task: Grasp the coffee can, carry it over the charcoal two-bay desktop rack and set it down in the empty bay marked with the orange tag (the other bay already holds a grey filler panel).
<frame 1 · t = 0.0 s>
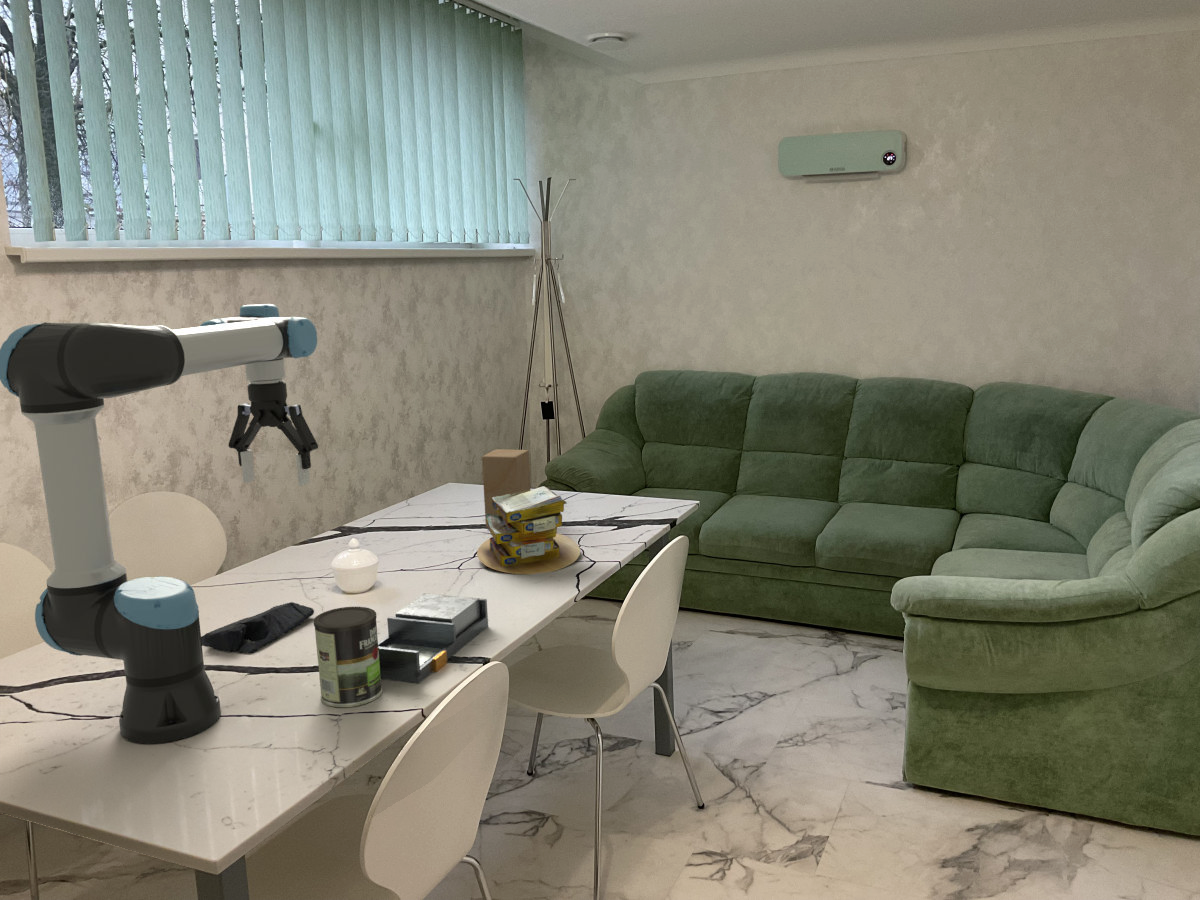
hand: (276, 483, 208), 28 cm above the table, fingers open, 13 cm apart
rack: (422, 649, 190), on the table
wooden block: (509, 524, 276), on the table
stacked yellow boxes: (529, 559, 245), on the table
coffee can: (351, 695, 171), on the table
black pouch: (260, 634, 202), on the table
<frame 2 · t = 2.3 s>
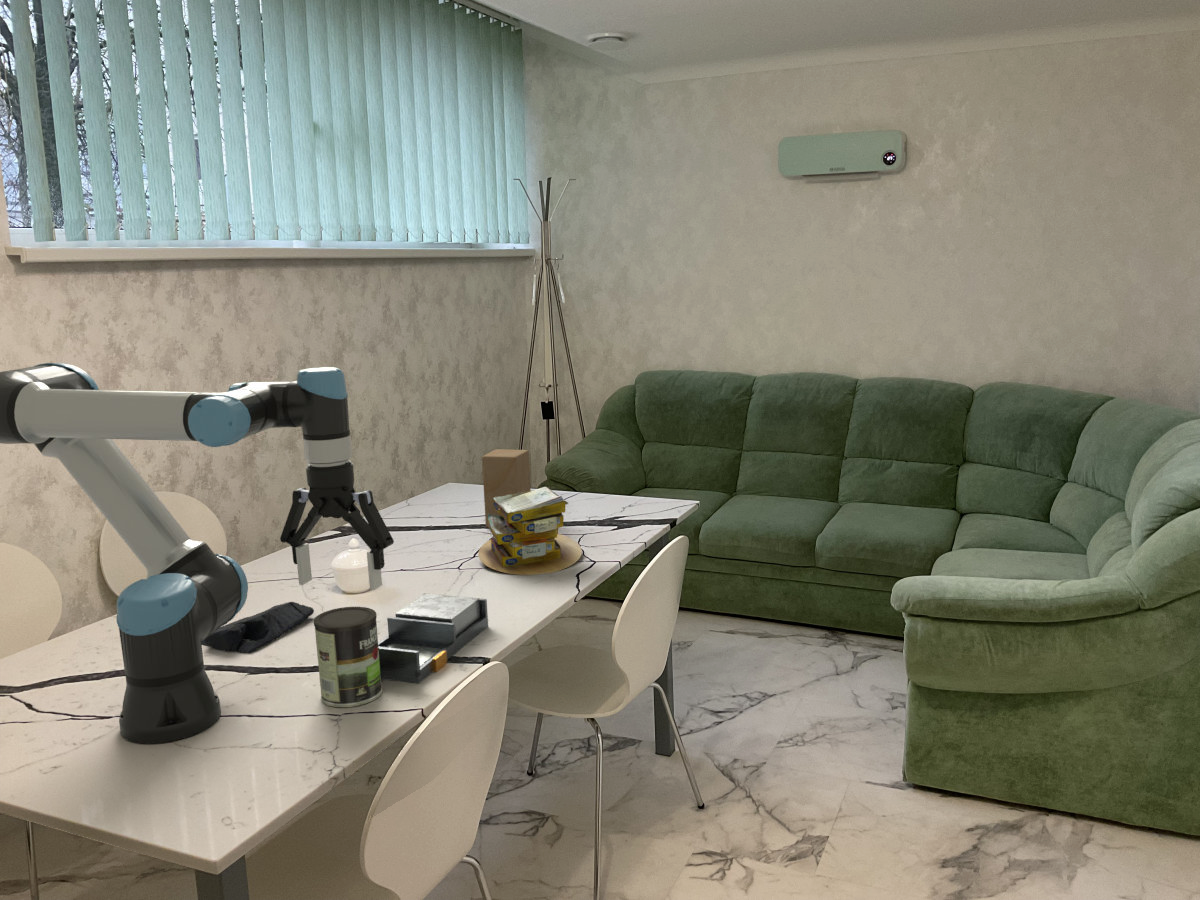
hand: (340, 585, 169), 19 cm above the table, fingers open, 13 cm apart
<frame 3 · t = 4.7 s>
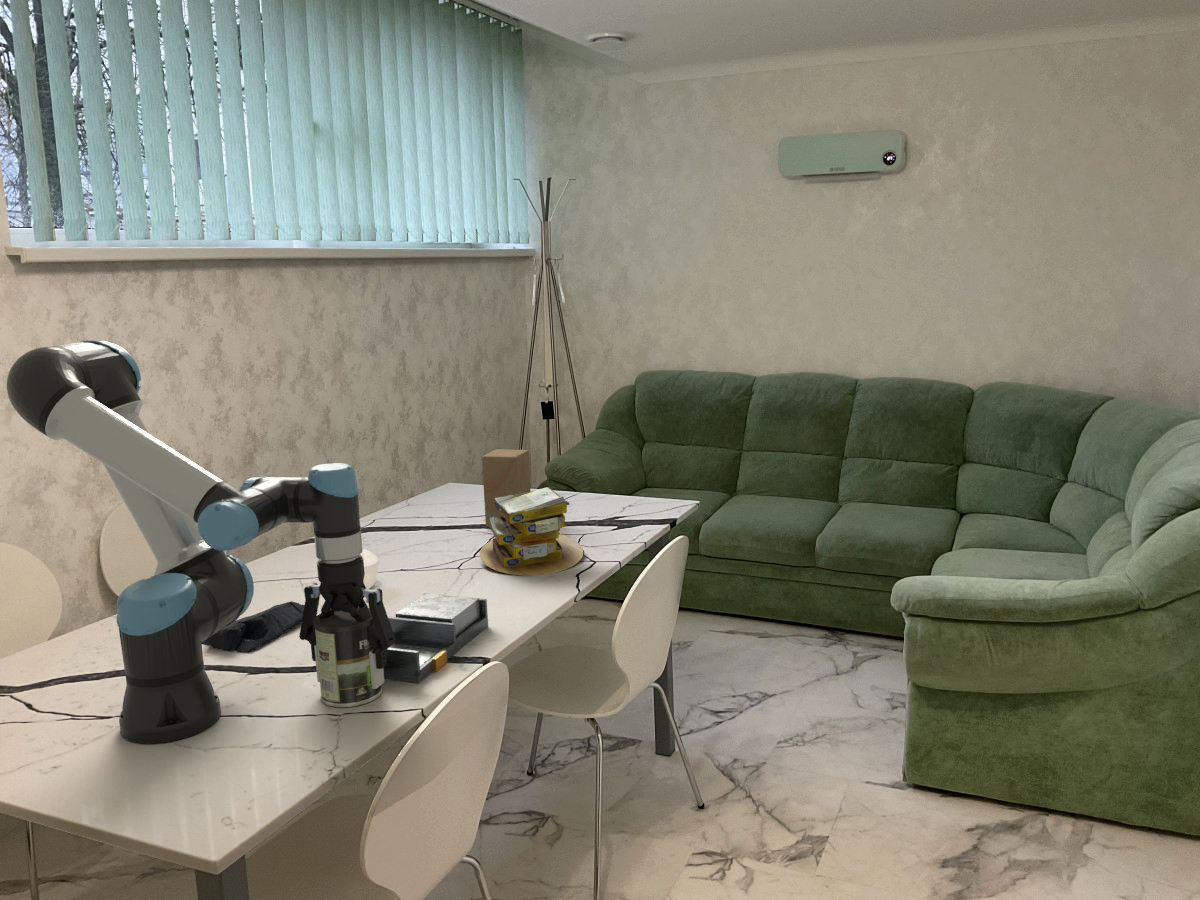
hand: (350, 682, 171), 2 cm above the table, fingers closed on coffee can, 10 cm apart
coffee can: (351, 695, 171), on the table, touching gripper
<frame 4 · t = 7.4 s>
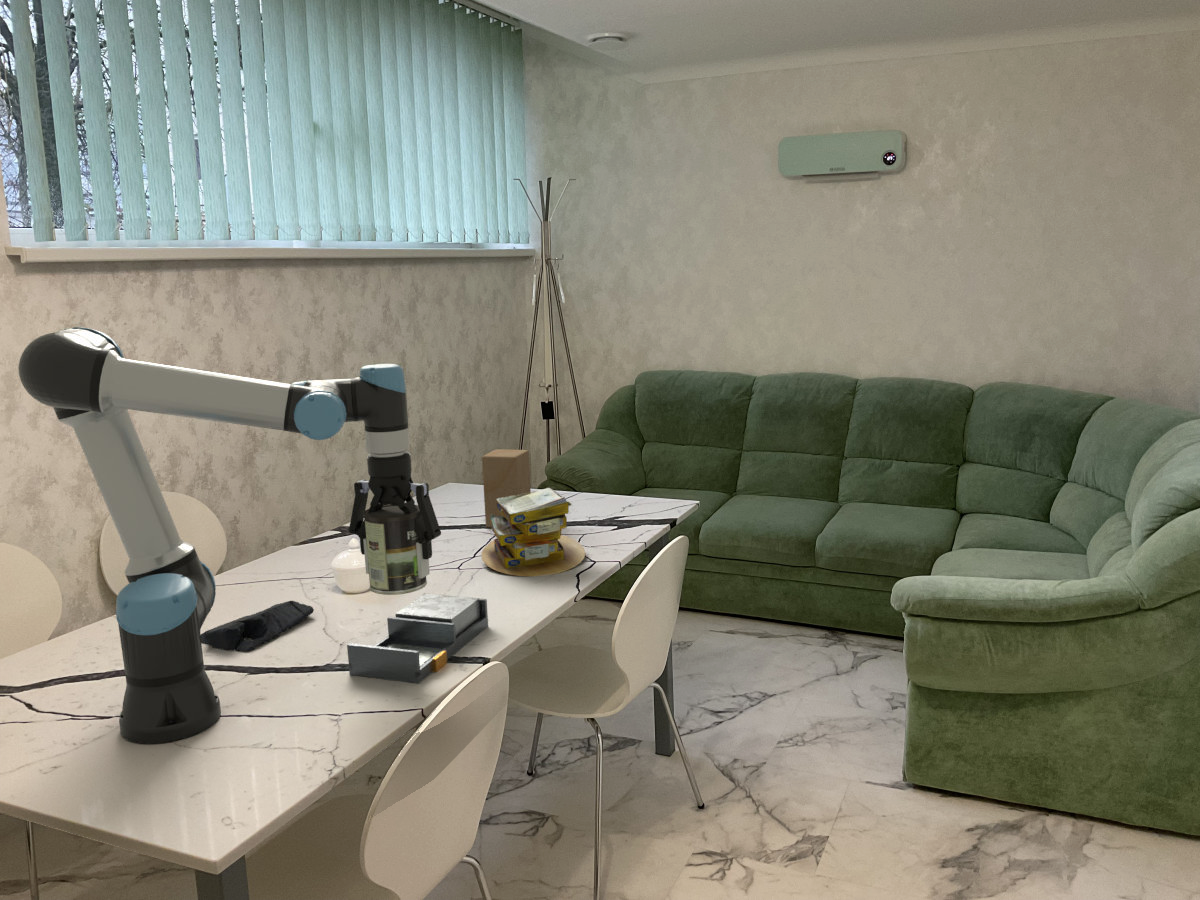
hand: (397, 573, 180), 17 cm above the table, fingers closed on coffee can, 10 cm apart
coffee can: (398, 586, 181), point 15 cm above the table, touching gripper
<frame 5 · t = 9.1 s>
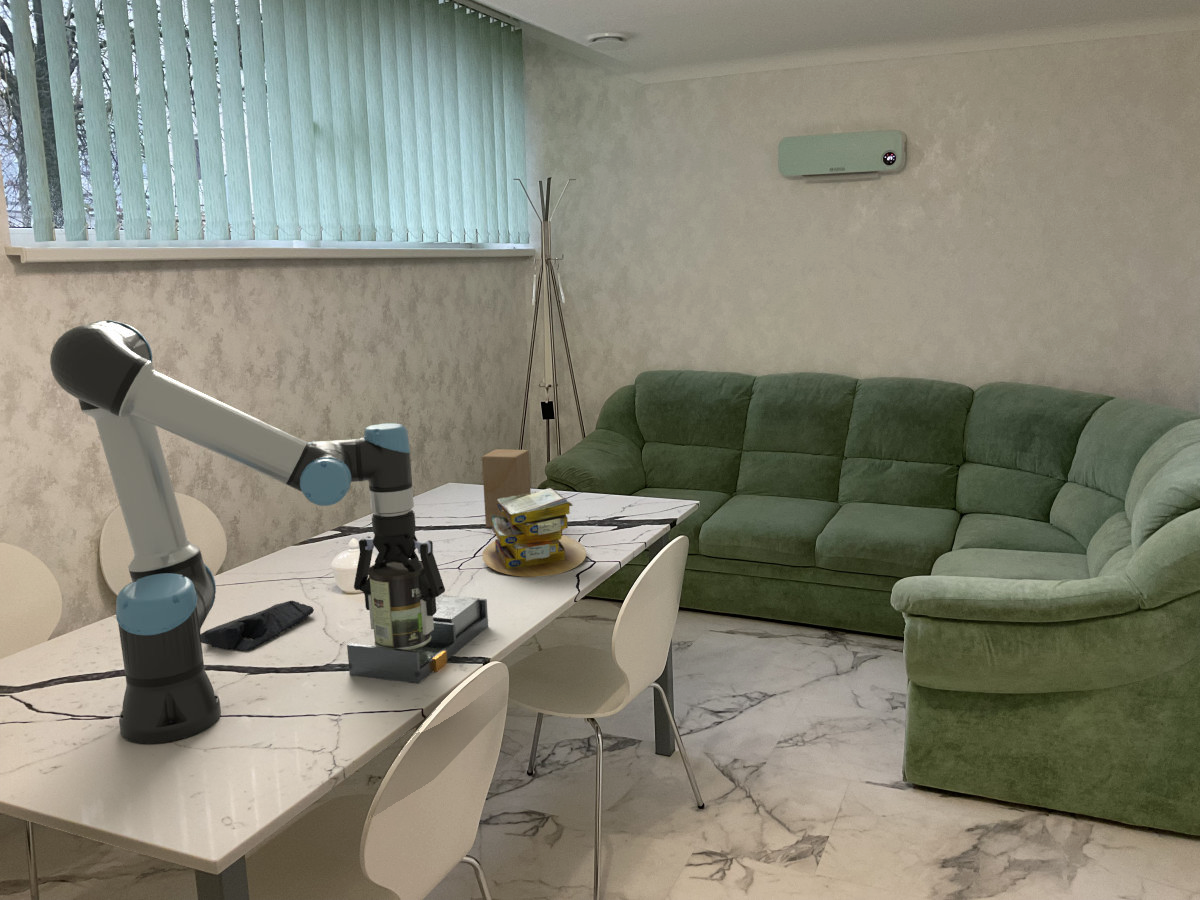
hand: (402, 629, 182), 7 cm above the table, fingers closed on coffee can, 10 cm apart
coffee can: (403, 642, 183), point 4 cm above the table, touching gripper
when the fingers open (5 cm above the table, at t = 10.4 s): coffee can drops 2 cm, resting on rack.
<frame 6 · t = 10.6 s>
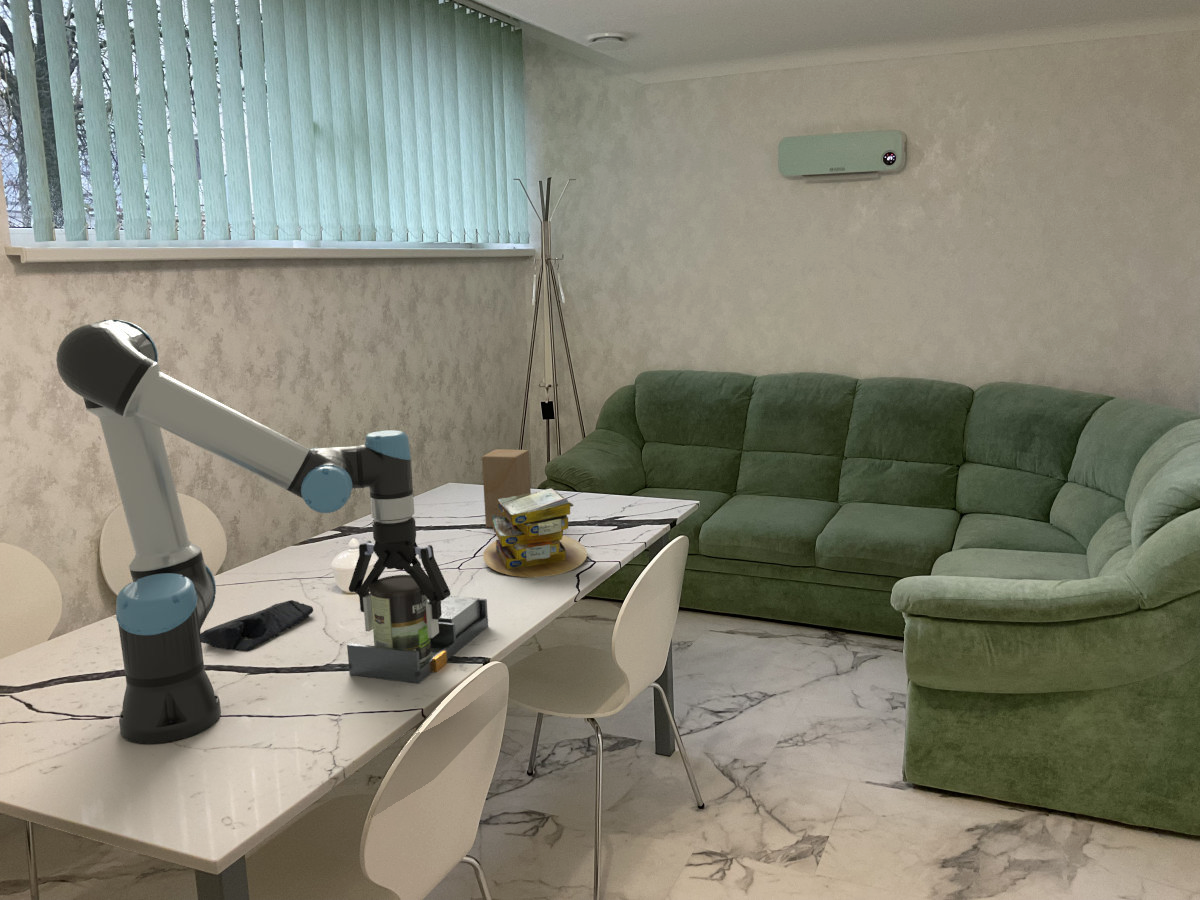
hand: (402, 632, 183), 6 cm above the table, fingers open, 12 cm apart
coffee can: (403, 657, 183), point 1 cm above the table, touching rack
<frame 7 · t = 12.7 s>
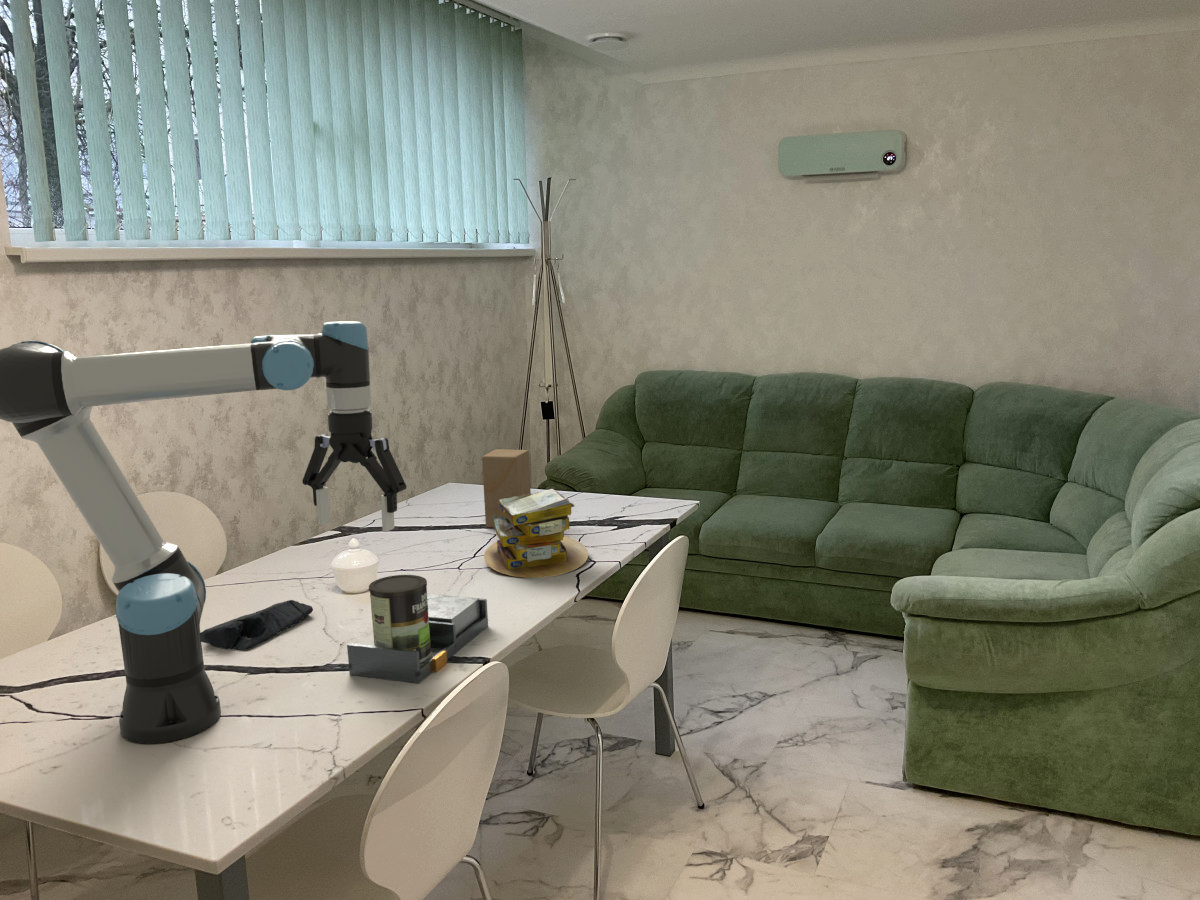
hand: (356, 526, 180), 26 cm above the table, fingers open, 13 cm apart
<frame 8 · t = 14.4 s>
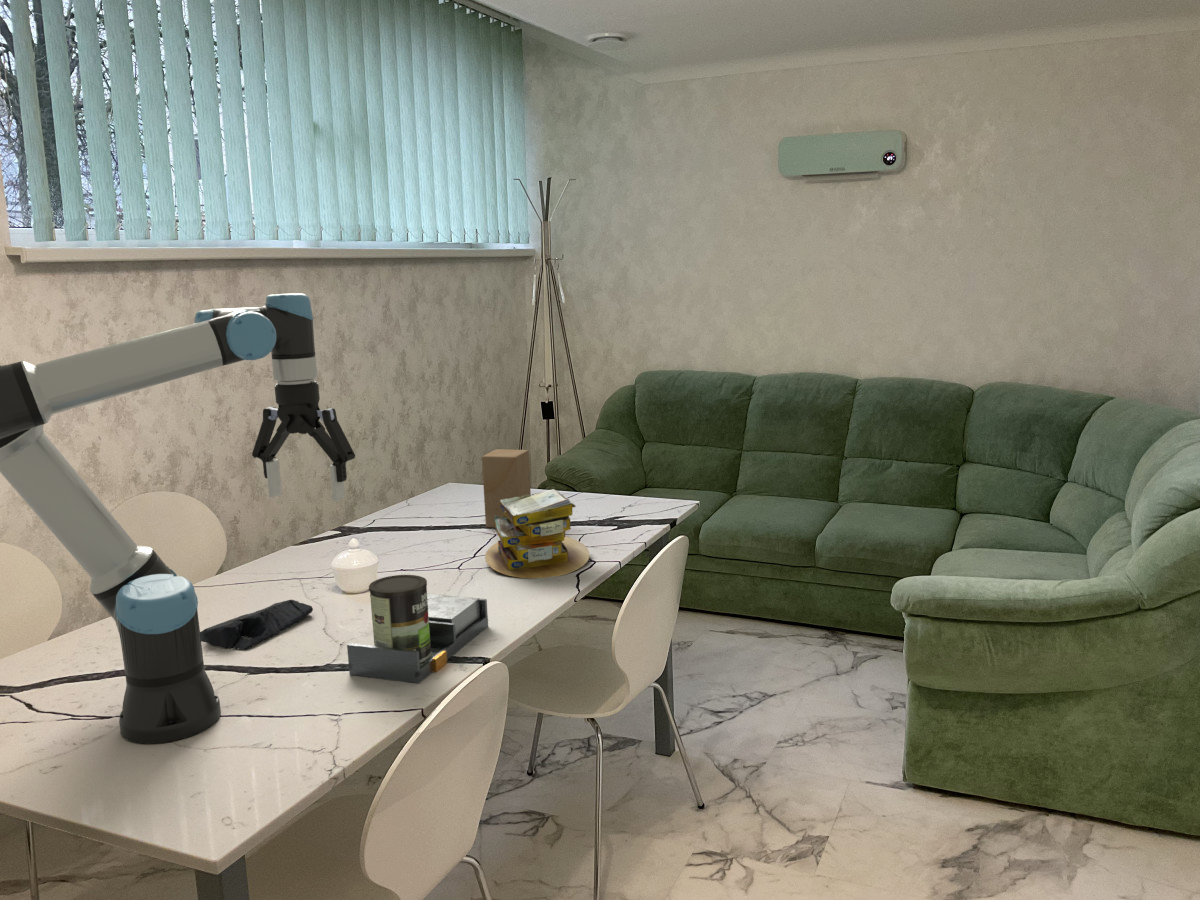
hand: (306, 497, 182), 31 cm above the table, fingers open, 13 cm apart
at the end: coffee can inside the target area on the rack (0.2 cm from its centre), point 1.1 cm above the rack's base; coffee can tilted 0°; the gripper is holding nothing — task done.
